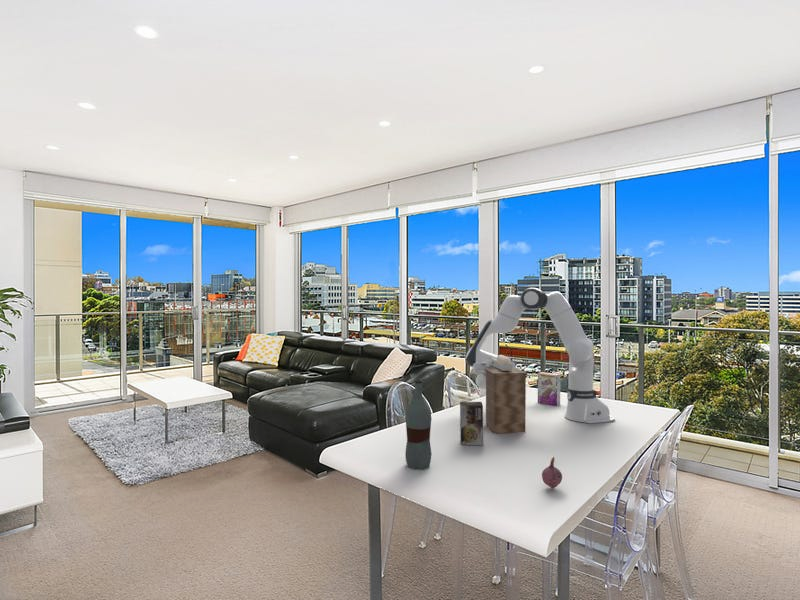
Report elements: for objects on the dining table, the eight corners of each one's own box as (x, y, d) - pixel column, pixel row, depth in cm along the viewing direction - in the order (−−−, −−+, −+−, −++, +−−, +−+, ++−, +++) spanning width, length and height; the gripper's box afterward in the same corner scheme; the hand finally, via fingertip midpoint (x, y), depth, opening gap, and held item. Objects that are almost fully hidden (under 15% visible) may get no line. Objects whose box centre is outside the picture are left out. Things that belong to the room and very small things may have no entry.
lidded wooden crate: (516, 424, 215) (516, 368, 215) (527, 432, 202) (527, 372, 202) (484, 425, 214) (484, 368, 213) (493, 433, 201) (493, 373, 200)
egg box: (499, 364, 222) (499, 352, 222) (512, 370, 205) (512, 357, 205) (490, 364, 222) (490, 352, 222) (502, 370, 204) (502, 357, 204)
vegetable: (551, 494, 141) (551, 461, 140) (537, 486, 146) (537, 454, 146) (566, 490, 143) (566, 458, 143) (552, 483, 149) (552, 452, 149)
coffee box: (482, 440, 192) (482, 401, 191) (483, 445, 185) (483, 405, 185) (459, 440, 193) (459, 400, 192) (460, 445, 186) (460, 404, 186)
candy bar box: (537, 402, 258) (537, 373, 258) (541, 401, 262) (541, 371, 262) (556, 405, 251) (557, 375, 250) (560, 404, 254) (560, 374, 254)
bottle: (435, 468, 161) (435, 381, 161) (410, 471, 158) (410, 383, 158) (426, 459, 170) (426, 377, 170) (402, 462, 167) (402, 378, 167)
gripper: (468, 366, 230) (475, 355, 218) (508, 365, 232) (517, 355, 220) (470, 379, 227) (477, 368, 215) (511, 378, 229) (520, 367, 217)
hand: (498, 361), depth 218 cm, fingers closed on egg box, 4 cm apart
